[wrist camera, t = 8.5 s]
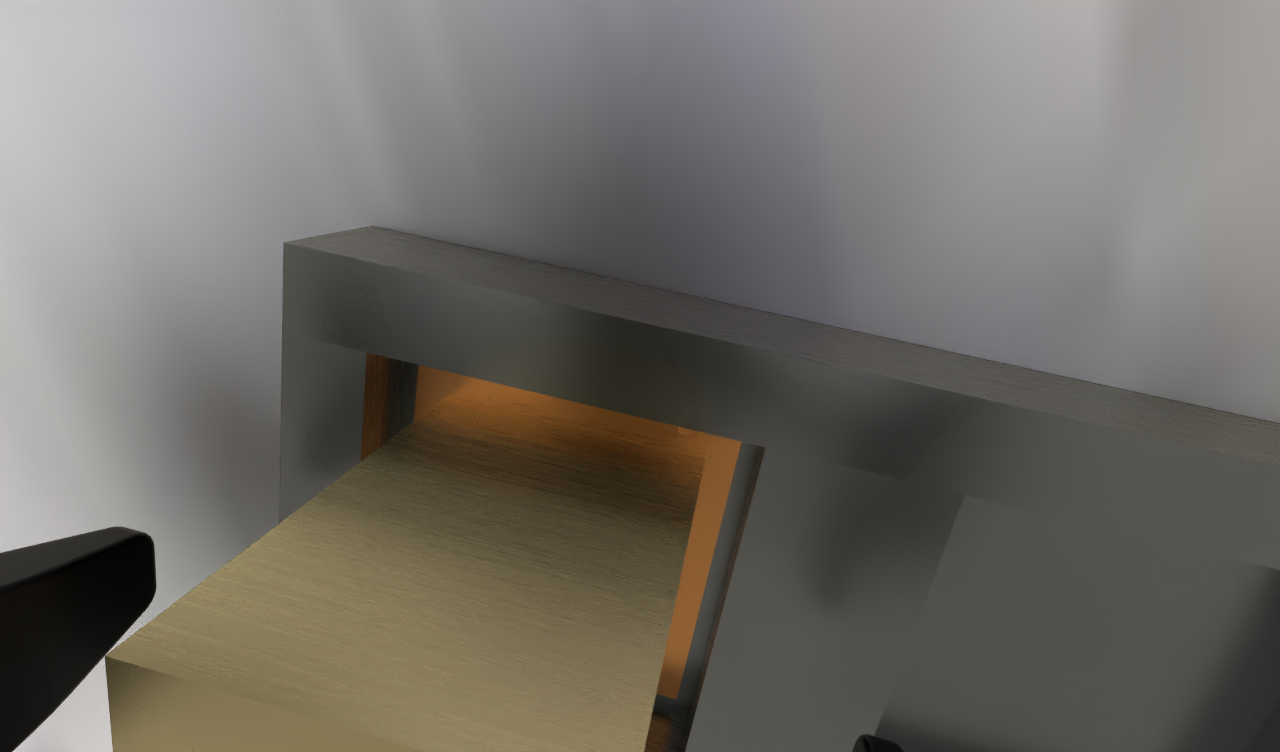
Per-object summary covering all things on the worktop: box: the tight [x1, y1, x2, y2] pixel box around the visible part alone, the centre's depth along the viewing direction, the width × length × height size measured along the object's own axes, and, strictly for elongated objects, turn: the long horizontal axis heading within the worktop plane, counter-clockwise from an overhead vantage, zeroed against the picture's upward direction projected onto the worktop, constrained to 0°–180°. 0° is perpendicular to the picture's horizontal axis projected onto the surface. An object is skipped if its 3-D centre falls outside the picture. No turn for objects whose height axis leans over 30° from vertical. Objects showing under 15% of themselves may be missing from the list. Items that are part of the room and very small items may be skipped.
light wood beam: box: [105, 394, 706, 752], centre depth 8 cm, size 4×4×6 cm
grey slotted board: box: [279, 226, 1280, 752], centre depth 11 cm, size 16×8×2 cm, turn 79°
